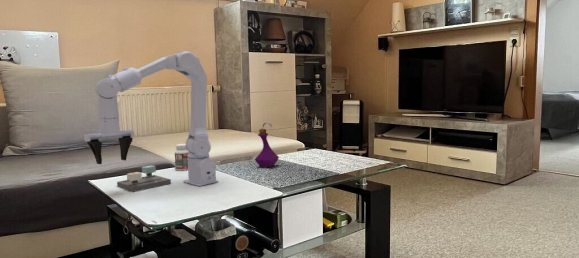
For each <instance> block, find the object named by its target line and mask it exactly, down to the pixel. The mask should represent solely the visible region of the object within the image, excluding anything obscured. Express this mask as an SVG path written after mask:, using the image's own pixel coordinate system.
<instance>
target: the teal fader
mask: <svg viewBox="0 0 579 258" xmlns="http://www.w3.org/2000/svg"><path fill="white" fill-rule="evenodd" d="M156 169H157V168H156V166H155V165H146V166H142V167H141V173H142V174H145V177H146V176H152V175H153V174H154V173H156V171H157V170H156ZM152 173H153V174H152Z"/></svg>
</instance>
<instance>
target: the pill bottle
mask: <svg viewBox="0 0 579 258" xmlns="http://www.w3.org/2000/svg"><path fill="white" fill-rule="evenodd" d="M175 148H176V149H175V151H174V166H175V168H174V169H175V170H176V171H178V170H179V171H180V172H181V171H182V170H184V171H188V154H189V151H188V150H187V149H186V143H179V144H178V143H177V144H176V145H175ZM179 171H178V172H179ZM182 172H183V171H182Z"/></svg>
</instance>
